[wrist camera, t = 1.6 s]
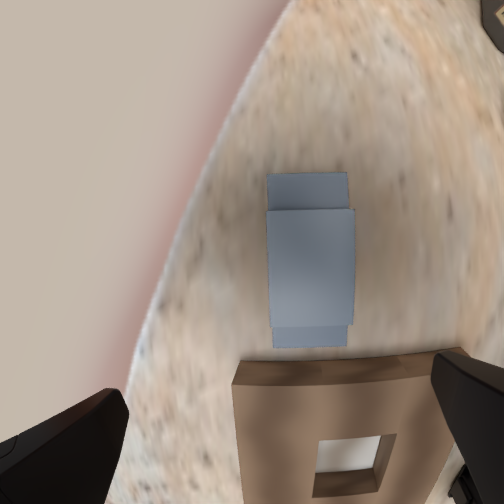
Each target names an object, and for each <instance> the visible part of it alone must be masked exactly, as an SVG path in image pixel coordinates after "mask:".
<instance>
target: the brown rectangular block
mask: <svg viewBox="0 0 504 504" xmlns="http://www.w3.org/2000/svg"><path fill="white" fill-rule="evenodd" d="M445 350H451V351H453V352H456V353H459V354H462V355H465V356H468V357H470V356H469V355H468V354H467V353H466V352H465V351H464V350H463V349H462V348H461V347H458V348H451V349H445ZM441 351H444V350H438V351H431V352H423V353H415V354H406V355H397V356H387V357H375V358H362V359H347V360H326V361H240V363H239V365H238V368H237V371H236V374H235V376H234V379H233V382H232V384H231V386H232V397H233V408H234V418H235V428H236V438H237V447H238V456H239V465H240V474H241V483H242V491H243V499H244V504H424V503H425V501H426V500H427V498H428V496H429V494H430V492H431V491H432V489H433V487H434V485H435V483H436V481H437V479H438V477H439V475H440V473H441V471H442V469H443V467H444V465H445V462H446V460H447V458H448V456H449V454H450V451H451V449H452V447H453V444H454V442H455V440H454V438H453V436H452V434H451V432H450V430H449V428H448V426H447V423H446V421H445V418H444V416H443V413H442V410H441V408H440V405H439V402H438V400H437V397H436V395H435V392H434V390H433V387H432V385H431V380H430V377H431V370H432V364H433V358H434V355H435V354H436V353H437V352H441ZM380 436H381V437H380ZM379 440H380V441H379ZM378 444H379V445H378ZM377 448H378V449H377ZM376 452H377V453H376ZM374 459H375V460H374ZM373 463H374V464H373ZM372 466H373V467H372Z"/></svg>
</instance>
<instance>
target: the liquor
mask: <svg viewBox="0 0 504 504" xmlns="http://www.w3.org/2000/svg"><path fill="white" fill-rule="evenodd" d="M482 9H483V27H484V28H485V30H486V31H487V33H488V34H489V36H490V37H491V39H492V40H493V42H494V43H495V45H496V46H497V48H498V49H499V50H500V51H502V52H503V53H504V0H482Z"/></svg>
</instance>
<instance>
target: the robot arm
mask: <svg viewBox="0 0 504 504" xmlns="http://www.w3.org/2000/svg"><path fill="white" fill-rule="evenodd" d="M430 380H431V385H432V387H433V390H434V392H435V395H436V397H437V400H438V402H439V405H440V408H441V410H442V413H443V416H444V418H445V421H446V423H447V426H448V428H449V430H450V432H451V434H452V436H453V438H454V440H455V442H456V444H457V446H458V448H459V450H460V452H461V454H462V456H463V458H464V461H465V463H466V464H465V465H464V466H463V468H462V470H461V472H460V474H459V476H458V477H457V479H456V481H455V483H454V485H453V486H452V488H451V490H450V492H449V493H448V497H449V498H450V497H453V499H454V501H455V503H456V504H504V368H501V367H498V366H495V365H492V364H489V363H486V362H483V361H480V360H477V359H474V358H471V357H468V356H465V355H462V354H459V353H456V352H453V351H451V350H444V351H441V352H437V353H436V354H435V355H434V358H433V364H432V370H431V377H430ZM128 419H129V410H128V408H127V405H126V403H125V401H124V399H123V396H122V394H121V392H120V391H119V390H118V389H114V388H105V389H103V390H101V391H100V392H98V393H96V394H94V395H92V396H90V397H89V398H87V399H85V400H83V401H81V402H79V403H78V404H76V405H74V406H72V407H70V408H68V409H66V410H65V411H63V412H61V413H59V414H57V415H55V416H53V417H51V418H49V419H48V420H45V421H44V422H42V423H40V424H38V425H36V426H34V427H32V428H30V429H28V430H26V431H24V432H22V433H20V434H19V435H16V436H14V437H12V438H10V439H8V440H6V441H4V442H1V443H0V504H104V503H105V500H106V497H107V494H108V491H109V488H110V485H111V482H112V479H113V476H114V473H115V470H116V467H117V464H118V461H119V458H120V454H121V450H122V445H123V441H124V436H125V432H126V428H127V423H128Z"/></svg>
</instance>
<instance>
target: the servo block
mask: <svg viewBox="0 0 504 504" xmlns="http://www.w3.org/2000/svg"><path fill="white" fill-rule="evenodd" d="M267 191H268V211H266V226H267V251H268V278H269V309H270V327H272V330H273V348H312V347H338V346H346V345H347V328H348V325H353V316H354V292H355V209H349V198H348V177H347V172H328V173H288V174H267Z"/></svg>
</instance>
